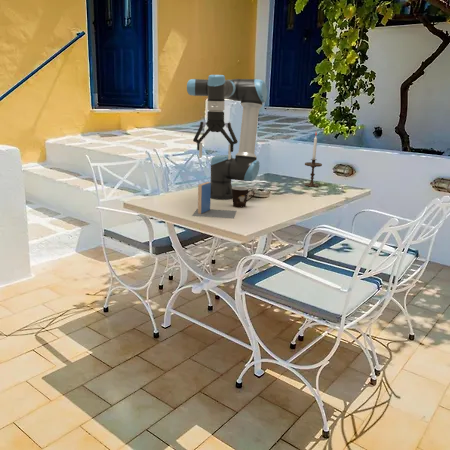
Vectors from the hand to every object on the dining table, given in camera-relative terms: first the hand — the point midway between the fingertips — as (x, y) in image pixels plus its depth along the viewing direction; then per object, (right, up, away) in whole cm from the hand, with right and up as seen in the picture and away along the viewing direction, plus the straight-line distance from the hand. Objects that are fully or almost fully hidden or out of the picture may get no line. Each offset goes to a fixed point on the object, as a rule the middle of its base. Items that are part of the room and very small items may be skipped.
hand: (214, 158), depth 215 cm
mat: (0, -26, +11) cm, 28 cm away
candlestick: (+61, -5, +88) cm, 107 cm away
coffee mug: (+13, -22, +27) cm, 37 cm away
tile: (-6, -24, +13) cm, 28 cm away
